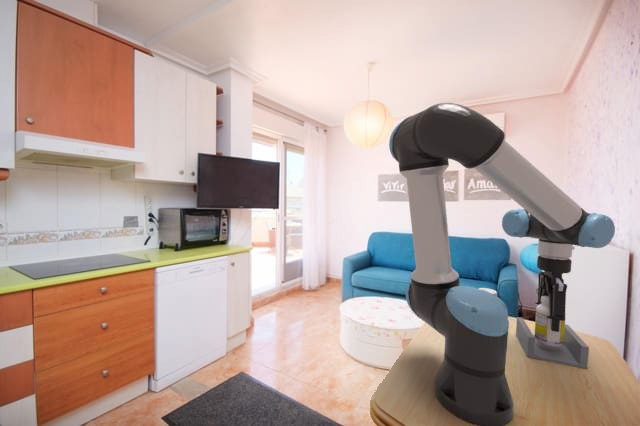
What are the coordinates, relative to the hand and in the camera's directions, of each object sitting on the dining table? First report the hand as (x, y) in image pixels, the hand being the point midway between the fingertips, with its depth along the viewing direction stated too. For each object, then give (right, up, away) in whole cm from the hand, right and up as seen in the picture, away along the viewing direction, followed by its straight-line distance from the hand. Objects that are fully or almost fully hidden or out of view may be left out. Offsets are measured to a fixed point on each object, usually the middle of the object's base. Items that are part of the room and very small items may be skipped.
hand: (548, 335), depth 84 cm
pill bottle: (-14, -4, +8) cm, 17 cm away
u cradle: (0, -4, 0) cm, 4 cm away
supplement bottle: (0, -2, 0) cm, 2 cm away
